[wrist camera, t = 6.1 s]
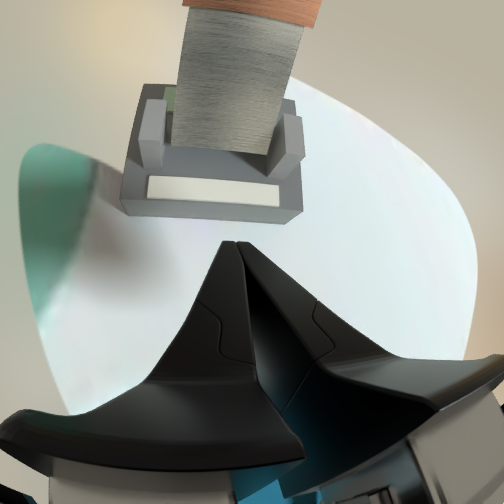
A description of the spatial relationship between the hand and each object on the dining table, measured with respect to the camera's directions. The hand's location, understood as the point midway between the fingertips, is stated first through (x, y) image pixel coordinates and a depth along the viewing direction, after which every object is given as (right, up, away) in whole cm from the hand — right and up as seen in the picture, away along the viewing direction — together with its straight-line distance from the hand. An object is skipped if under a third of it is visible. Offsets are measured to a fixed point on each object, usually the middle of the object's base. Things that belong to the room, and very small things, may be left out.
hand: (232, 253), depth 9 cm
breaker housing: (-2, +6, +9) cm, 11 cm away
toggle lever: (-1, +6, +6) cm, 8 cm away
